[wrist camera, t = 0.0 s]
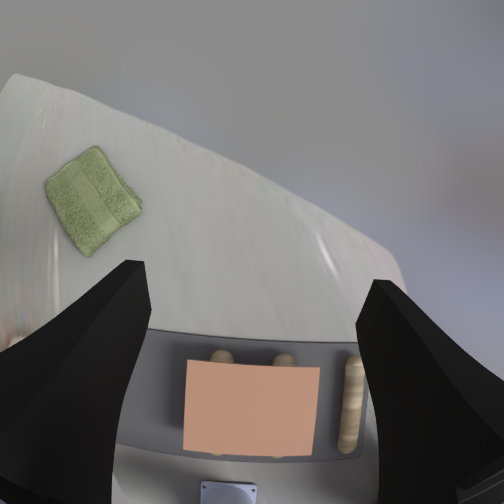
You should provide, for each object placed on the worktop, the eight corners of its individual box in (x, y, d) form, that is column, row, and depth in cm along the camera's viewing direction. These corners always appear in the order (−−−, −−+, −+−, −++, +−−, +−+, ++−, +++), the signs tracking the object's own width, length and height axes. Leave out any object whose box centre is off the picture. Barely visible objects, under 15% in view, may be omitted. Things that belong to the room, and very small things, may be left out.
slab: (308, 451, 33) (311, 455, 31) (184, 445, 32) (183, 449, 31) (316, 366, 36) (320, 367, 35) (189, 358, 36) (187, 359, 34)
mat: (358, 456, 36) (359, 456, 35) (91, 435, 34) (90, 435, 34) (370, 343, 41) (371, 343, 40) (95, 321, 39) (94, 320, 39)
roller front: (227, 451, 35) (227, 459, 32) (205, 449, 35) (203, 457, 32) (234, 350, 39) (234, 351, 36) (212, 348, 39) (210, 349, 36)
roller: (351, 449, 36) (358, 455, 33) (333, 450, 36) (339, 457, 33) (361, 354, 40) (369, 355, 37) (343, 354, 40) (350, 355, 37)
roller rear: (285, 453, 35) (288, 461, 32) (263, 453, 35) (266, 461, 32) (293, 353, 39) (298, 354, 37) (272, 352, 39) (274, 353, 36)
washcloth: (100, 146, 48) (93, 136, 44) (149, 211, 45) (144, 202, 42) (45, 191, 45) (37, 184, 42) (86, 265, 42) (77, 260, 39)
